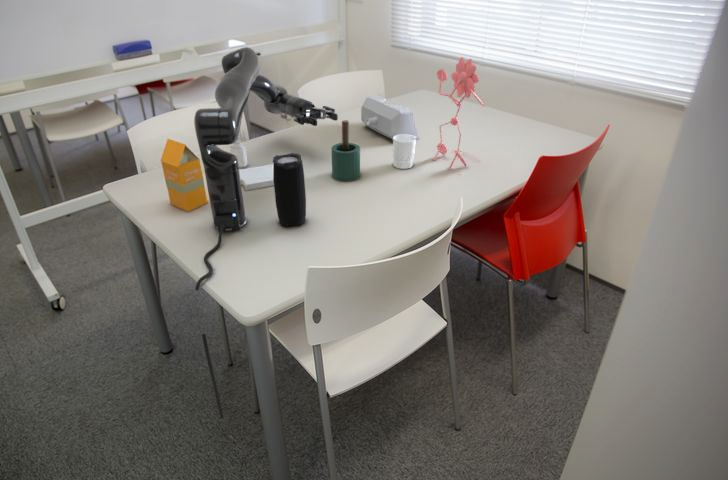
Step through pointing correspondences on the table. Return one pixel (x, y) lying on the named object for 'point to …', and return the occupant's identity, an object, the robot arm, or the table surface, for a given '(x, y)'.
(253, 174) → the mounting plate
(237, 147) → the eye dropper bottle
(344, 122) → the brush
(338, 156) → the green plastic pot
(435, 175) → the table surface
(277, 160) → the portable speaker
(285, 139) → the table surface
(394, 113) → the tank
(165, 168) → the orange juice
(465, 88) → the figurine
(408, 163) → the white cup
